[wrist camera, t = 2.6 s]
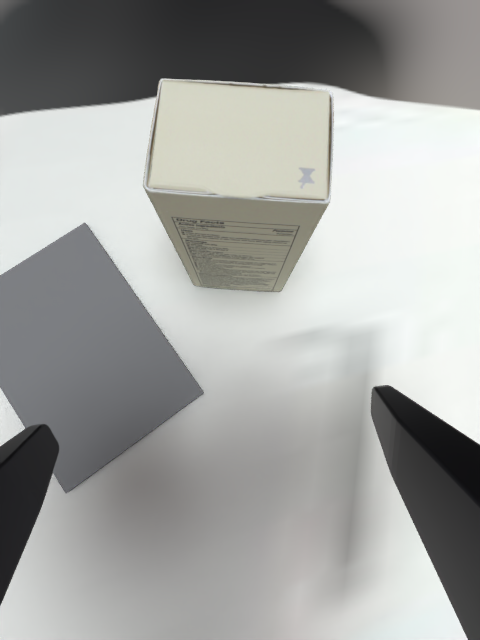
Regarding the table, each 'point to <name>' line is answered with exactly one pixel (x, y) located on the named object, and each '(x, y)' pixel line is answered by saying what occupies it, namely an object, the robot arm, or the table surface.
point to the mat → (85, 355)
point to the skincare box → (239, 177)
